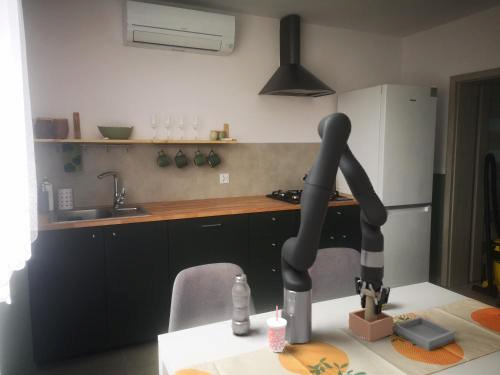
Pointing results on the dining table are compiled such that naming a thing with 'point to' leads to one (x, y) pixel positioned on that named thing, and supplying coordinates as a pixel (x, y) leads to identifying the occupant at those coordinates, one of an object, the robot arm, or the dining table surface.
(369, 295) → the handle
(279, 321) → the beverage cup
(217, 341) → the dining table surface
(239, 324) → the plastic bottle
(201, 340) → the dining table surface
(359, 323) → the terracotta storage bin
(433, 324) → the tray
